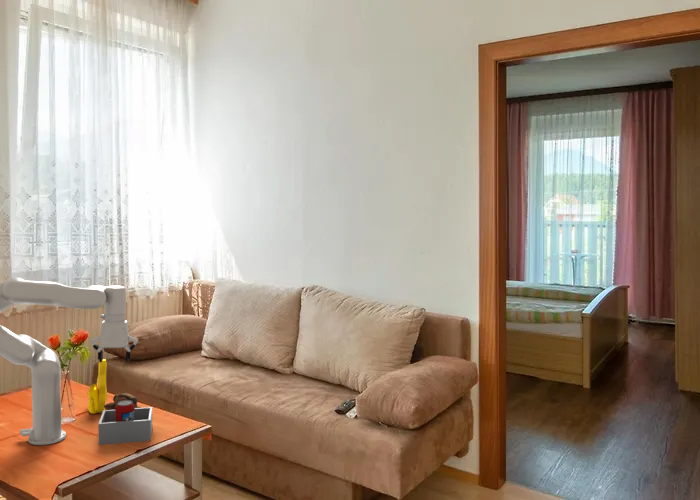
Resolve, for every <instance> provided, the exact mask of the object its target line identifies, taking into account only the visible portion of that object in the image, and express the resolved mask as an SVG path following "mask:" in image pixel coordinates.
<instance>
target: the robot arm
mask: <svg viewBox="0 0 700 500" xmlns="http://www.w3.org/2000/svg"><path fill="white" fill-rule="evenodd" d="M126 293H127V290H126V287H125V286H122V285H109V286H105V285H97V284H96V285H93V284H92V285H88V286H87V287H84V288H82V287H75V286H68V285H64V284H61V283H59V282H53V281H42V280H41V281H39V280H25V279H23V278H21V277H18V276H17V277H15V276H14V277H11V278H9V279H7V280H5V281H4V282H3V283H1V284H0V314H1V313H2V312H4V311H6V310H7V309H8V308H10V307H12V306H13V305H15V304H17V305H38V306H39V305H40V306H41V305H42V306H43V305H44V306H53V307H61V308H62V307H65V308H71V309H86V310H90V309H91V310H92V309H93V310H94V309H95V310H97V309H99V308H101V307H103V306H104V314H101V315H100V316H99V317H100V319H102V320H103V321H102V322H101V325H100V332H99V336H97V337H95V338H92V339H91V340H90V342H89V343H90V344H91V346H92V347H93V349H94V350H96V352H97V360H98V363H99V362H102V361H103V359H104V351H103V349H125V350H126V352H125V363H129V360H131V353H132V352H131V351H133V350H134V349H135V348H136V346H137V344H138V342H139V339H138V338H136V337H133V336H131V335H129V326H128V325H129V324H128V321H127V320H126V305H127V304H126V302H127V301H126V299H127V294H126ZM98 341H99V345H98V344H97V342H98ZM129 341H131V342H133V343H132V344H131V345H130V344H129V343H130V342H129ZM0 356H1V357H2V358H4V359H6V361H9V362H10V363H12V364H13V365H17V366H23V365H24V366H26V367H27V368H29V369H30V371H31V372H30V373H31V405H32V407H31V410H32V412H31V413H32V415H31V416H32V427H29V428H21V429H20V430H19V435H21V436H22V437H28V438H27V441H28V443H29V444H30V445H32V446H33V445H34V446H46V445H52V444H55V443H59V442H61V441H63V440H65V438H66V437H67V432H66V431H65V430H63V429H62V389H61V388H62V385H61V384H62V382H61V381H62V366H61V362H60V359H59V356H58V355H57V354H56V352H55V351H54V350H52V349H50V348H48V346H46V345H44V344H42V343H41V342H40V341H38V340H36V339H35V338H33V337H31V336H30V335H27V334H25V333H24V334H21V333H20V334H16V333H14V332H12V331H11V330H10V329H8V328H6V327H5V326H3V325H1V324H0Z"/></svg>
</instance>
